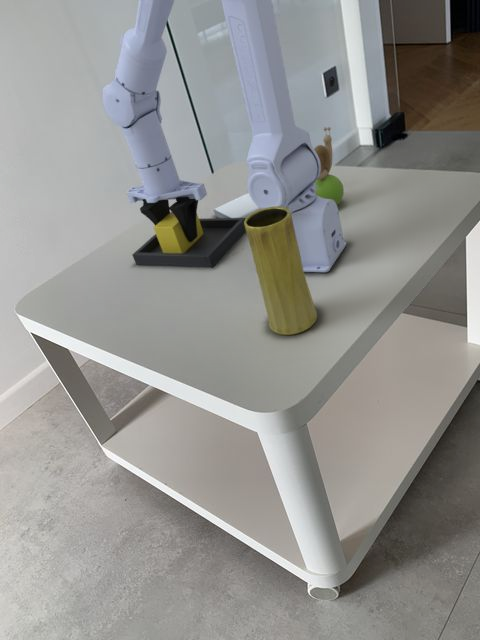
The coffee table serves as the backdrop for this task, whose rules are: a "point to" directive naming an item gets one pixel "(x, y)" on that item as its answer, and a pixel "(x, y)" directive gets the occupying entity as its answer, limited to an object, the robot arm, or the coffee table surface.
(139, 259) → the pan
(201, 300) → the coffee table surface
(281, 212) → the vase
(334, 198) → the snail figurine
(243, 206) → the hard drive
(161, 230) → the sponge
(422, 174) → the coffee table surface
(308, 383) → the coffee table surface
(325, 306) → the coffee table surface
